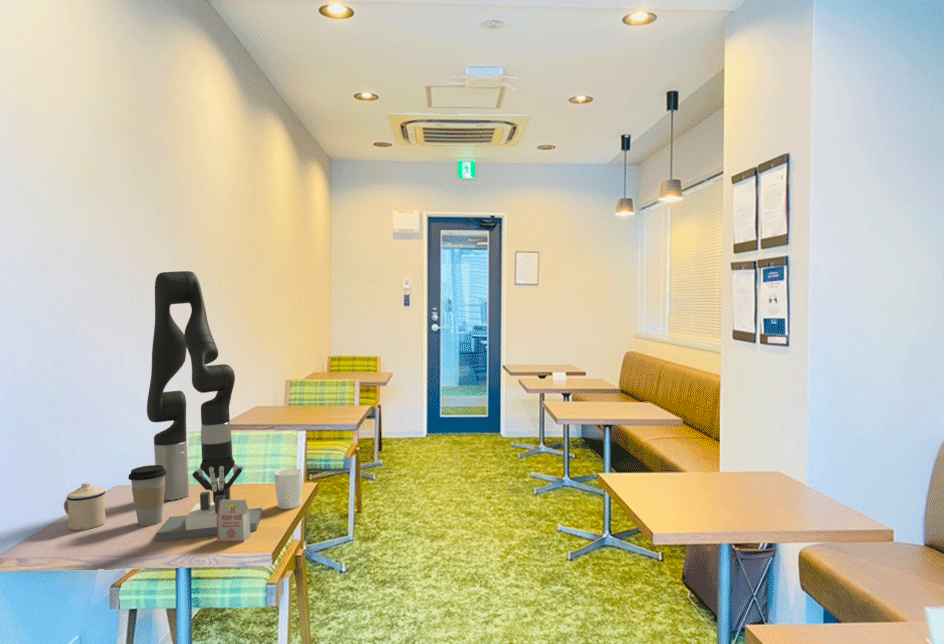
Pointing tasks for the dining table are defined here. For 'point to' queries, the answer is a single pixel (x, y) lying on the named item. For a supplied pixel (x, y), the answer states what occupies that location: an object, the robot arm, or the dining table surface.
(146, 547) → the dining table surface
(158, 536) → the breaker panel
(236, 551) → the dining table surface
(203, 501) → the handle
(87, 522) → the teacup with lid
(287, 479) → the white cup
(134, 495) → the coffee cup
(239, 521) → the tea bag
